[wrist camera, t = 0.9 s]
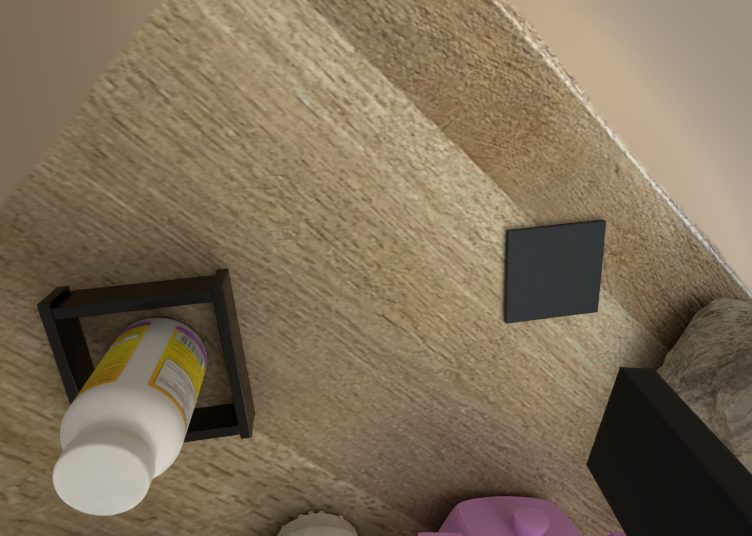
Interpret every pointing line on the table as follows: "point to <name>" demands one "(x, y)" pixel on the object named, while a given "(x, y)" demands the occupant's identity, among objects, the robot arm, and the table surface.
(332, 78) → the table surface
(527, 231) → the slate mat
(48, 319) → the black square frame
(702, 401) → the rock
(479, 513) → the teapot
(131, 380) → the supplement bottle
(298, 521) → the mechanical component
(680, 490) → the robot arm
